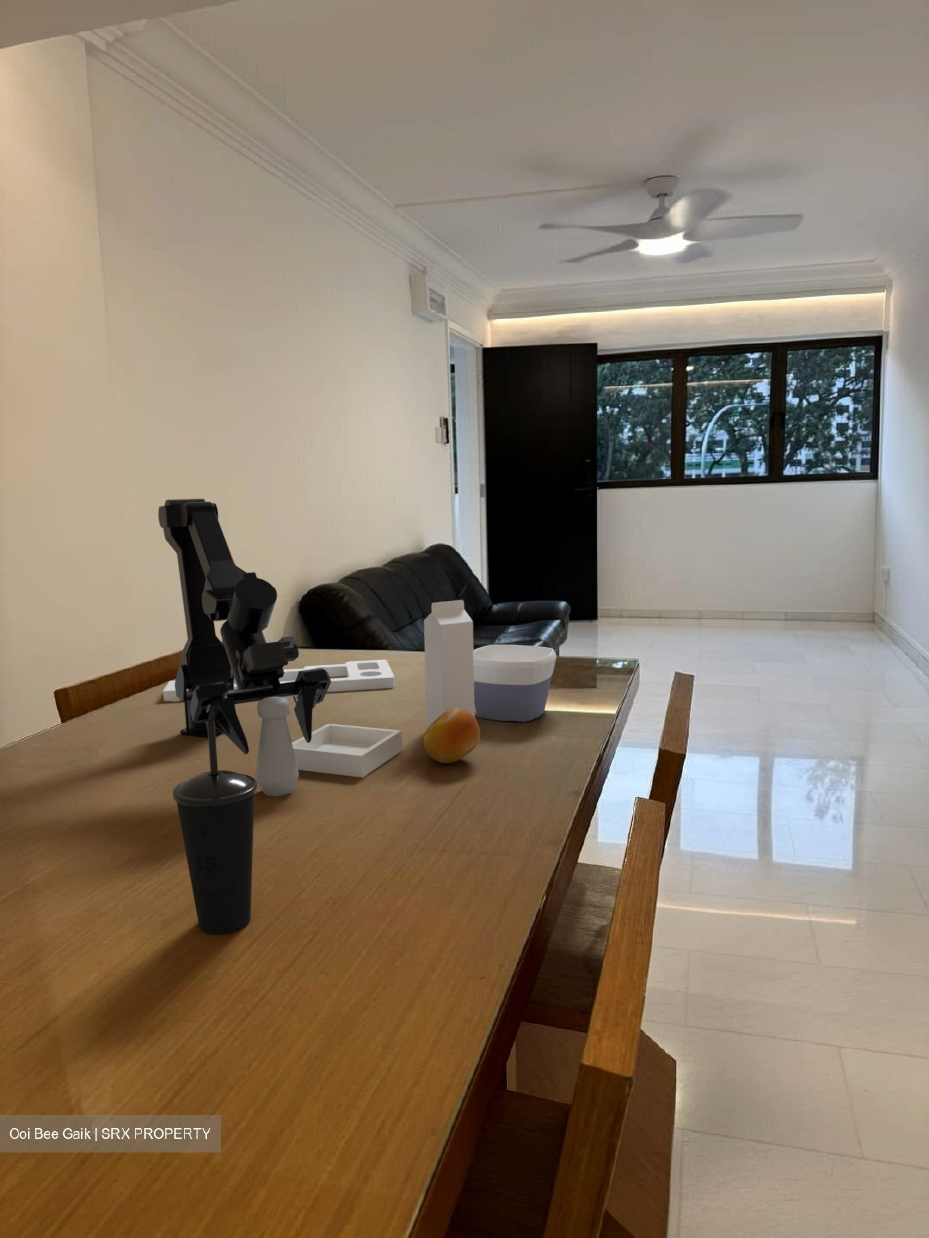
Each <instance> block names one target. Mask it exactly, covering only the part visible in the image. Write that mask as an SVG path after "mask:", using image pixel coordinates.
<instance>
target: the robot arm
mask: <svg viewBox="0 0 929 1238" xmlns="http://www.w3.org/2000/svg"><path fill="white" fill-rule="evenodd" d="M157 511H158V515H157V516H158V522H159V523H158V524H159V526H160V528H161V529H162V530H163V535H164V539H165V541H166V542H167V543H168V544H169V546H170V547H171V549H173V551H174V552H175V554H176V556H177V563H178V564H177V565H178V573H179V581H180V589H181V595H182V603H183V604H182V605H183V611H184V612H183V613H184V620H185V627H186V636H187V640H186V643H185V645H184V646H183V649H182V651H181V653H180V655H179V662H180V665H178V668H177V673H176V676H175V680H176V681H175V680H174V681H175V690H176V696H177V697H178V698H179V699H180V700H182V701H181V702H184V717H185V727H184V728H183V729H180V730H179V732H180V734H181V735H184V734H185V735H191V736H199V737H200V736H201V737H208V729H207V721H208V720H214V721H215V735H216V736H217V735H218V734H221V733H222V734H224V735H225V736H226V737H227V738H228V739H229V740H230V741H231V742H232V744H234V745H235V746H236V747H237V748H238V749H239V751H241V752H242V753H243V754H244V755H248V754H249V752H250V748H249V745H248V740H247V737H246V735H245V733H244V729H243V726H242V724H241V722H240V719H239V717H238V715H237V710H236V705H241V704H246V703H247V704H248V703H258V702H259V701H260V700H262V699H264V698H268V697H283V698H288V697H289V698H290V697H293V700H294V703H295V706H294V708H293V712H294V714H295V717H296V719H297V722H298V725H299V728H300V730H301V733H302V737H304V738H305V740H306V742H307V743H310V741H311V739H312V732H313V729H312V728H313V709H315V707H316V706H317V705H318V704H320V703H322V702H324V699H325V696H326V695H327V693H328V692H327V690H328V688H329V686H330V684H331V679H332V678H331V677H329V674H328V672H327V671H326V670H325V669H323V668H317V669H310V670H302V671H299V673H298V675H297V678H296V680H295V681H294V682H287V683H280V681H279V678H282V677H283V675H284V670H285V669H284V667H285V666H288V665H289V662H294V661H295V660H296V659H298V658H299V656H300V651H299V646H298V643H297V641H296V639H295V637H294V636H293V635H291V636H283V637H281V638H280V639H279V640H278V641H271V642H267V641H266V638H265V635H264V630H265V629H267V628H268V626H269V623H270V621H271V617H272V615H273V612H274V608H275V606H276V602H277V599H278V593H277V591H278V590H277V589H276V587H274V586H273V584H271V583H270V582H269V581H267V580H265V579H263V578H259V577H257V574H256V572H255V571H252V572H251V571H250V572H247V571H245V570H244V569H242V568H240V567H239V566H238V565H237V564H236V562H235V561H234V558H233V556H232V554H231V551H230V548H229V545H228V543H227V540H226V537H225V535H224V531H223V529H222V526H221V523H220V521H219V510H218V506H217V503H215V502H211V501H206V500H205V499H204V498H180V499H177V498H176V499H166V500H165V501H164V505H161V506H159V507H158V510H157ZM221 621H222V622H223V621H224V622H223V624H221V627H220V630H219V632H220V636H221V639H220V638H219V637H218V636H217V633H216V628H215V622H221ZM234 678H235V682H236V685H237V688H238V689H236V690H234ZM187 689H188V690H189V691H187Z"/></svg>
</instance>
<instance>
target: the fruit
mask: <svg viewBox="0 0 929 1238" xmlns="http://www.w3.org/2000/svg"><path fill="white" fill-rule="evenodd" d="M474 716H475V715H474ZM474 716H473V715H472V714H471V713H469V712H468V711H465V710H463V709H459V708H454V709H449V710H447V711H446V712H445V713H443V714H442V715H441V716H440V717H438V718H437V719H436V720H435V721H434V722H433V723H432V724H431V725H430V726H429V727H428V729H427V728H426V730H425V732H424V735H423V745H424V748H425V750H426V752H427V753H426V754H427V755H429V757H430V758H431V759H433V760H434V761H436V762H439V763H443V764H452V763H455V762H457V761H459V760H461V759H462V758H463V757H465V756H467V755H468V754H470V753H471V752H473V750H475V749H476V747H477V746H478V744H479V742H480V739H481V729H480V725H479V722H478V720H477V719H476V717H474Z"/></svg>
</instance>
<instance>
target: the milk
mask: <svg viewBox="0 0 929 1238" xmlns="http://www.w3.org/2000/svg"><path fill="white" fill-rule="evenodd" d="M423 627H424V629H423V633H424V664H425V666H424V668H425V669H424V670H425V671H424V673H425V699H426V700H425V701H426V702H425V705H426V707H425V708H426V730H427V729H428V727H429V726H430V725H431V724H432V723H433V722H434V721H435V720H436V719H437V718H438V717H440V716H441V715H442V714H443V713H445V712H446V711H447V710H449V709H454V708H459V709H463V710H465V711H468V712H469V713H471V714H472V715H473V716H474V717H475V704H474V660H473V650H474V621H473V619H472V618H471V617H470V615H469V614H468V613H467V611H466V610H465V601H464V600H463V599H459V600H450V601H449V600H448V601H439V602H432V603H431V613H430V614H429V615H428V616H426V617H425V619H424V620H423ZM475 718H476V717H475Z"/></svg>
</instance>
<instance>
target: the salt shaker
mask: <svg viewBox="0 0 929 1238" xmlns="http://www.w3.org/2000/svg"><path fill="white" fill-rule="evenodd" d="M290 708H291V707H290V703H289V700H288V699H287V697H268V698H264V699H262V700H260V701H257V706H256V709H257V716H258V717H259V718H261V724H260V725H261V727H260V734H259V741H258V751H257V757H256V758H257V759H256V768H255V780H256V781H257V785H258V786H259V787H260V789H261V790H262V793H263V794H264V795H265V796H266V797H282V796H283V797H284V796H286V795H290V794H292V792H293V790H294V788H295V785H296V783H297V781H298V779H299V775H300V773H299V770H298V767H297V763H296V759H295V754H294V750H293V746H292V742H293V741H292V738H291V734H290V729H289V725H288V721H287V716H289V714H290V712H291V711H290Z"/></svg>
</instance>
